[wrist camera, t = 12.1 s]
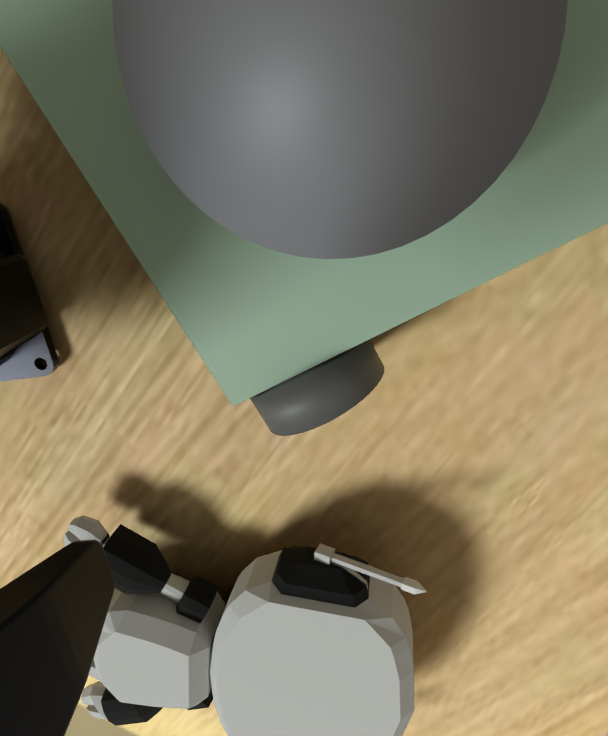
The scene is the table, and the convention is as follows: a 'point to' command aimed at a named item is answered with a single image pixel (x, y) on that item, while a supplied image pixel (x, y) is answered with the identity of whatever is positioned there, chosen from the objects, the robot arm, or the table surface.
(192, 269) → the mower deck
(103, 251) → the table surface
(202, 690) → the robot toy
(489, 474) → the table surface
